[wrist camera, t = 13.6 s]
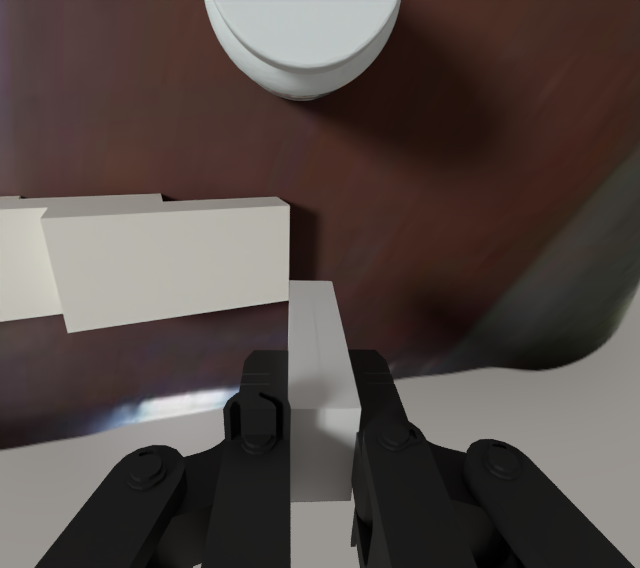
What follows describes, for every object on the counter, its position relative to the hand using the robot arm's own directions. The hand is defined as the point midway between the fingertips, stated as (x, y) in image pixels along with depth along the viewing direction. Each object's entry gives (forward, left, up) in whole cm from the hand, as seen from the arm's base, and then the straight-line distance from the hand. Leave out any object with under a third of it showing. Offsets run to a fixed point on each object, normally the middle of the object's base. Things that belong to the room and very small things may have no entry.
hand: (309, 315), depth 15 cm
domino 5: (-1, 0, -7) cm, 7 cm away
